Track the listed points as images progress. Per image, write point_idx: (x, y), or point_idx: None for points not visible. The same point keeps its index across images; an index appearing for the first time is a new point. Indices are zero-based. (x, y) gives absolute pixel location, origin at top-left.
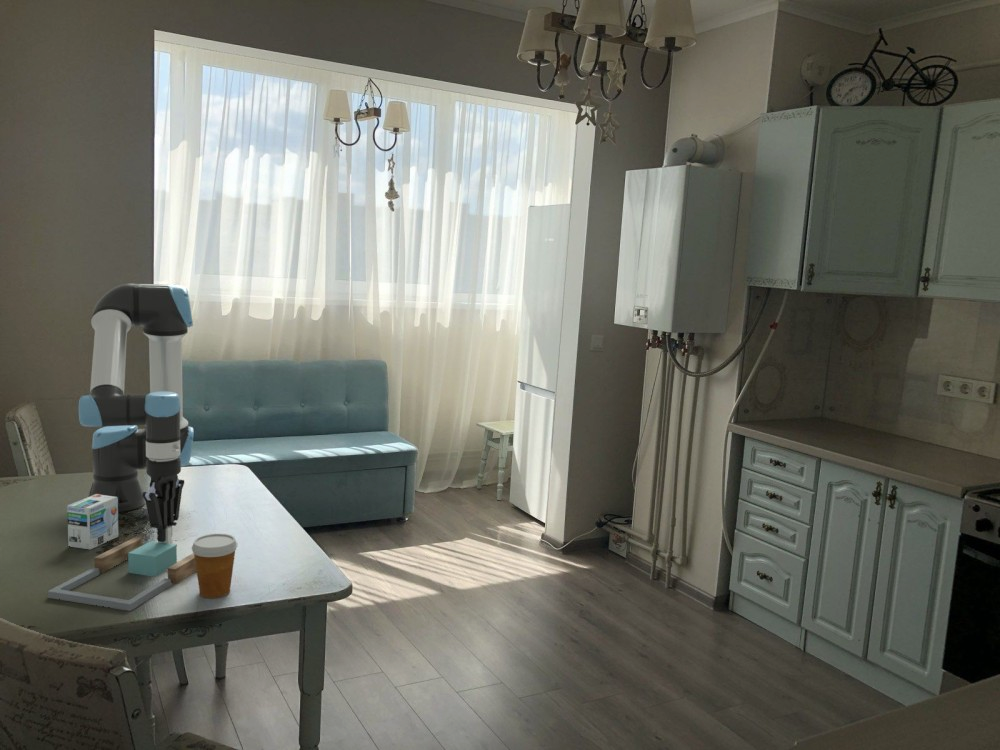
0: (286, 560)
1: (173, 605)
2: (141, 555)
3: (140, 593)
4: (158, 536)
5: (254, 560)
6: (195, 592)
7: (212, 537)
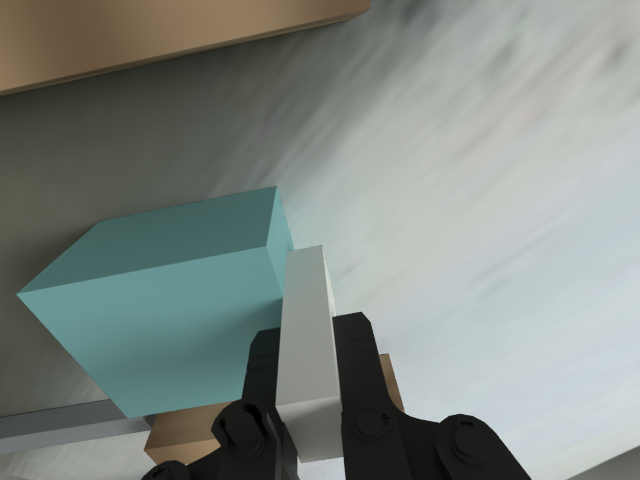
0: None
1: (94, 471)
2: (82, 360)
3: (9, 438)
4: (250, 372)
5: None
6: None
7: None
